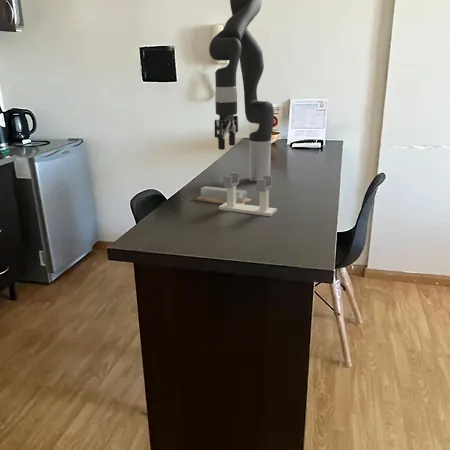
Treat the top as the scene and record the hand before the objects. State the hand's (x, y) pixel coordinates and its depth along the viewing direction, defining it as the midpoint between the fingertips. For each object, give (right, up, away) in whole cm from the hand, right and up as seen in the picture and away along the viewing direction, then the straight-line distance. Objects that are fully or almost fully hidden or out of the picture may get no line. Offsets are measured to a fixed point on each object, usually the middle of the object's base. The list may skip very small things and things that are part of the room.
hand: (227, 147), depth 161 cm
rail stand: (+7, -23, -6) cm, 25 cm away
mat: (-1, -19, +6) cm, 19 cm away
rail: (-1, -18, +6) cm, 19 cm away
